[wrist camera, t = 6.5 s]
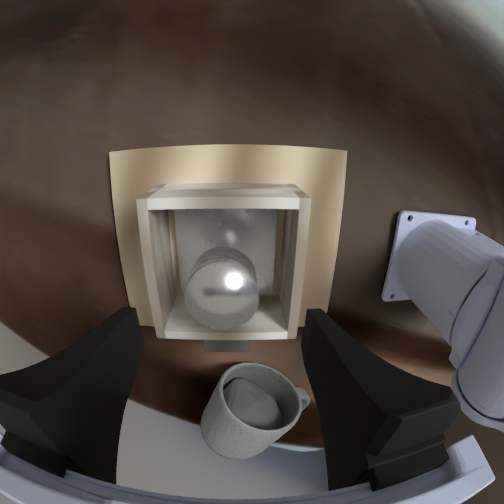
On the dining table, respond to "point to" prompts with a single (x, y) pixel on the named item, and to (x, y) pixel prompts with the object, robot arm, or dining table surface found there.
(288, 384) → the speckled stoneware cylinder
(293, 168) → the base
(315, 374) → the robot arm
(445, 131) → the dining table surface
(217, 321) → the plunger
